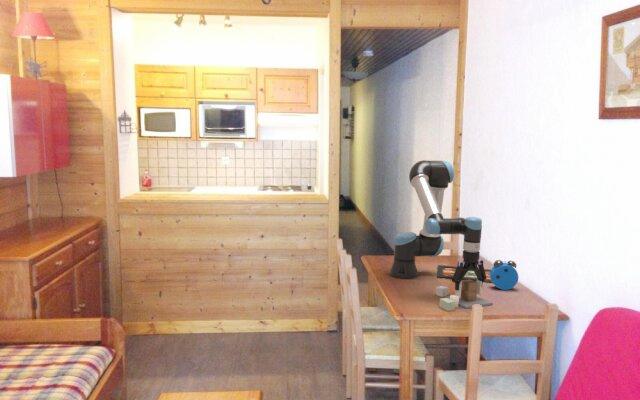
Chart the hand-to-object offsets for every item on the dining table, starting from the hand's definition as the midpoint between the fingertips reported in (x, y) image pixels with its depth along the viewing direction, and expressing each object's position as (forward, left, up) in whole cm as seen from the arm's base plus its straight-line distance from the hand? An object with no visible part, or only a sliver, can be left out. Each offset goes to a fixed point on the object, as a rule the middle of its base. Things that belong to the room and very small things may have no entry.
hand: (468, 295), depth 253 cm
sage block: (+4, -16, -3) cm, 17 cm away
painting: (-38, +35, -4) cm, 52 cm away
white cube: (-13, -5, -3) cm, 14 cm away
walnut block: (0, 0, -2) cm, 2 cm away
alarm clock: (-10, +33, -3) cm, 35 cm away
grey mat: (0, 0, -3) cm, 3 cm away
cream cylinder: (+3, -11, -3) cm, 12 cm away
